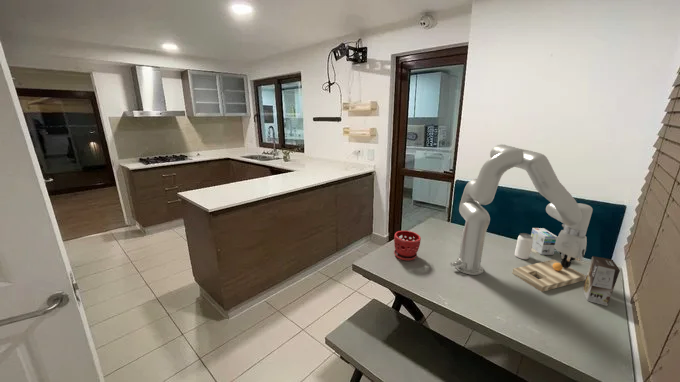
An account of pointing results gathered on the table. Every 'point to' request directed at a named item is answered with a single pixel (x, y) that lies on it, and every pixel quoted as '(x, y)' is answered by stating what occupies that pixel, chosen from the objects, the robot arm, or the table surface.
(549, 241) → the light bulb box
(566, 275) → the board
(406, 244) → the plant pot
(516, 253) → the can
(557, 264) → the ball
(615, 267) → the coffee box
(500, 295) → the table surface
